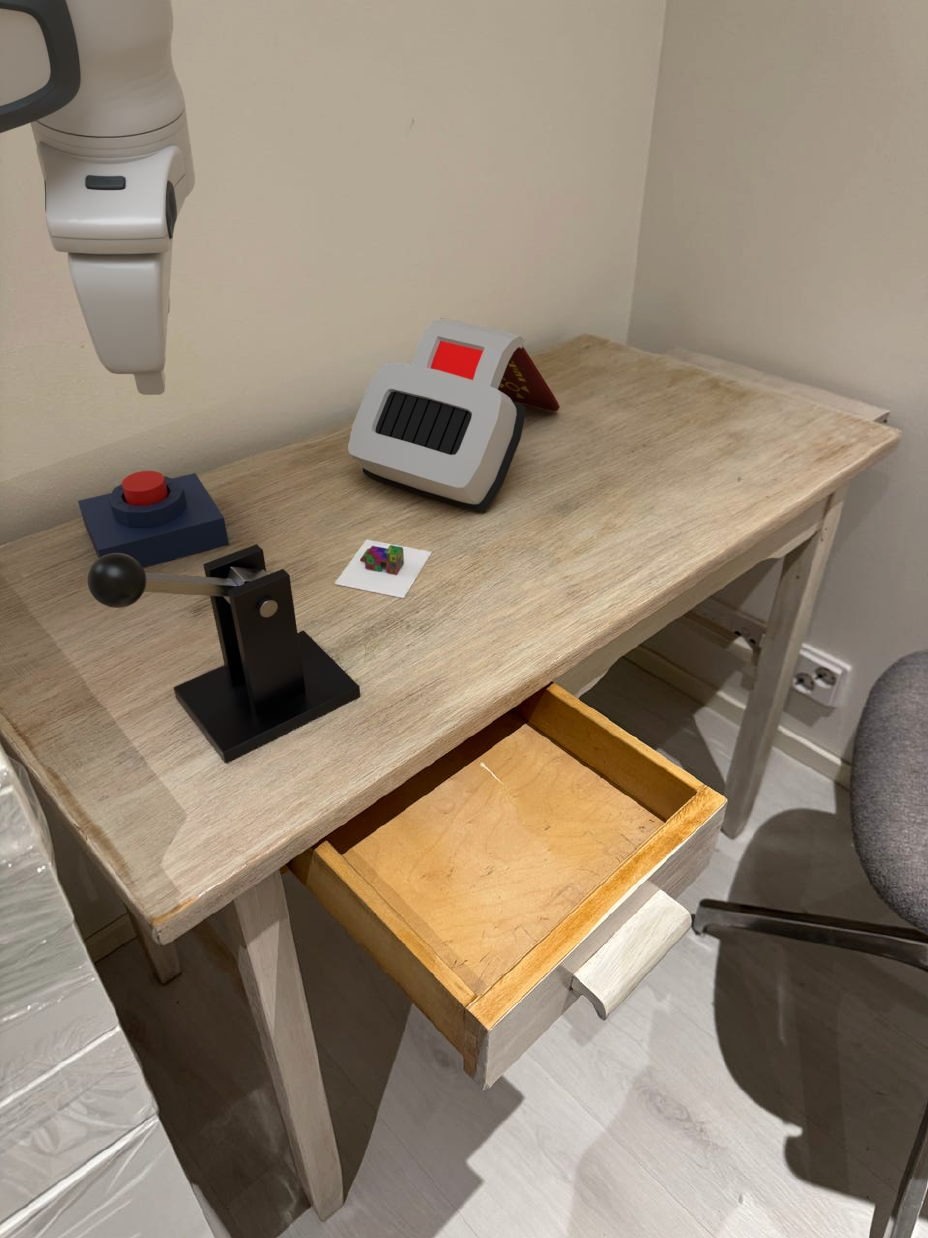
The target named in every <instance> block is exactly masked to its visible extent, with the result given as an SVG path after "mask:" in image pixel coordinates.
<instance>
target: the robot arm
mask: <svg viewBox="0 0 928 1238" xmlns="http://www.w3.org/2000/svg"><path fill="white" fill-rule="evenodd" d="M173 33H174V13H173V6H172V0H0V134H2V133H5V132H8V131H11V130H14V129H16V128H20V127H23V126H25V125H28V124H30V127H31V131H32V134H33V138H34V142H35V146H36V154H37V158H38V162H39V166H40V170H41V173H42V179H43V182H44V211H45V222H46V227H47V231H48V235H49V239H50V242H51V245H52V247H53V249H54V251H56V252H58V253H67V262H68V268H69V272H70V278H71V281H72V285H73V289H74V293H75V295H76V298H77V302H78V304H79V307H80V310H81V313H82V316H83V319H84V322H85V325H86V328H87V331H88V334H89V336H90V340H91V342H92V345H93V348H94V351H95V354H96V355H97V358H98V360H99V362H100V363H101V365H102V366H103V367H104V368H105V369H106V370H107V371H108V372H109V373H110V374H114V375H133V377H134V380H135V385H136V389H137V391H138V393H139V394H141V395H143V396H155V395H157V396H158V395H159V396H160V395H162V394H164V393H165V389H166V374H165V366H166V351H167V350H166V349H167V335H168V322H169V321H168V320H169V313H170V309H171V297H170V289H171V288H170V287H171V273H172V259H173V258H172V257H173V243H174V232H175V227H176V222H177V220H178V217H179V214H180V212H181V210H182V208H183V206H184V204H185V200H186V198H187V197H189V195H190V194H191V192H192V191H193V190H194V188H195V184H196V174H195V168H194V167H195V166H194V161H193V153H192V145H191V138H190V130H189V124H188V117H187V116H188V115H187V108H186V102H185V101H186V100H185V96H184V92H183V89H182V86H181V83H180V81H179V79H178V77H177V74H176V71H175V67H174V64H173V58H172V39H173Z"/></svg>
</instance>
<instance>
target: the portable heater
mask: <svg viewBox="0 0 928 1238" xmlns="http://www.w3.org/2000/svg"><path fill="white" fill-rule="evenodd" d="M525 342H526V341H525V339H524V338H523V337H522V336H521V335H520V334H516V333H512V332H509V331H506V330H502V329H498V328H493V327H488V326H484V325H480V324H475V323H471V322H466V321H462V320H457V319H451V318H443V317H440V318H439V319H436V320H434V321H432V323H431V324H429V326H428V327H427V328H426V329H425V330H424V331H423V332H422V334H421V337H420V339H419V341H418V344H417V347H416V349H415V352H414V354H413V358H412V361H411V363H406V362H401V361H385V362H383V363H382V364H381V365H380V366H379V367H378V369H377V370H376V372H375V374H374V376H373V377H372V379H371V380H370V382H369V384H368V386H367V388H366V391H365V393H364V395H363V399H362V401H361V404H360V406H359V409H358V411H357V414H356V416H355V418H354V421H353V423H352V426H351V430H350V436H349V440H348V445H347V452H348V453H349V455H350V456H351V457H352V459H353V460H354V461H355V463H356V464H357V465H358V466H360V467H361V468H362V474H364V475H365V476H366V477H368V478H370V479H373V480H375V481H377V482H380V483H382V484H385V485H389V486H392V487H394V488H397V489H401V490H404V491H407V492H409V493H411V494H414V495H415V494H416V495H418V496H422V497H425V498H429V499H430V500H431V499H432V500H435V501H438V502H441V503H445V504H448V505H452V506H455V507H458V508H461V509H465V510H470V511H475V512H486V511H487V510H488V509H489V508H490V507H491V505H492V503H493V502H494V500H495V499H496V497H497V495H498V494H499V492H500V491H501V488H502V487H503V484H504V483H505V480H506V478H507V475H508V472H509V470H510V467H511V465H512V462H513V459H514V457H515V454H516V452H517V450H518V447H519V444H520V441H521V439H522V434H523V429H524V424H525V418H526V407H525V406H530V407H534V408H537V409H542V410H545V411H549V412H558V411H559V410H560V408H561V406H560V405H559V404H560V403H559V402H558V400H557V398H556V396H555V395H554V393H553V391H552V389H551V388H550V387H549V385H548V383H547V382H546V381H545V379H544V377H543V375H542V374H541V372H540V371H539V369H538V367H537V366H536V364H535V363H534V361H533V360H532V358H531V357H530V355H529V354H528V352H527V350H526V348H525V347H524V344H525ZM524 405H525V406H524Z"/></svg>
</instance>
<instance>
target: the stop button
mask: <svg viewBox="0 0 928 1238" xmlns="http://www.w3.org/2000/svg"><path fill="white" fill-rule="evenodd" d="M164 476H165V475H164V474H162V473H161V472H159V471H156V470H141V471H137V472H132V473H130V474H128V475H127V476H126V477H123V480H122V481H121V484H122V488H123V492H124V495H125V499H126V502H127V503H128V504H130V505H133V506H147V505H151V504H155V503H158V502H160V501H162V500H163V499H165V498H166V497H167V495H168V492H167V487H166V483H165V478H164Z"/></svg>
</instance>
